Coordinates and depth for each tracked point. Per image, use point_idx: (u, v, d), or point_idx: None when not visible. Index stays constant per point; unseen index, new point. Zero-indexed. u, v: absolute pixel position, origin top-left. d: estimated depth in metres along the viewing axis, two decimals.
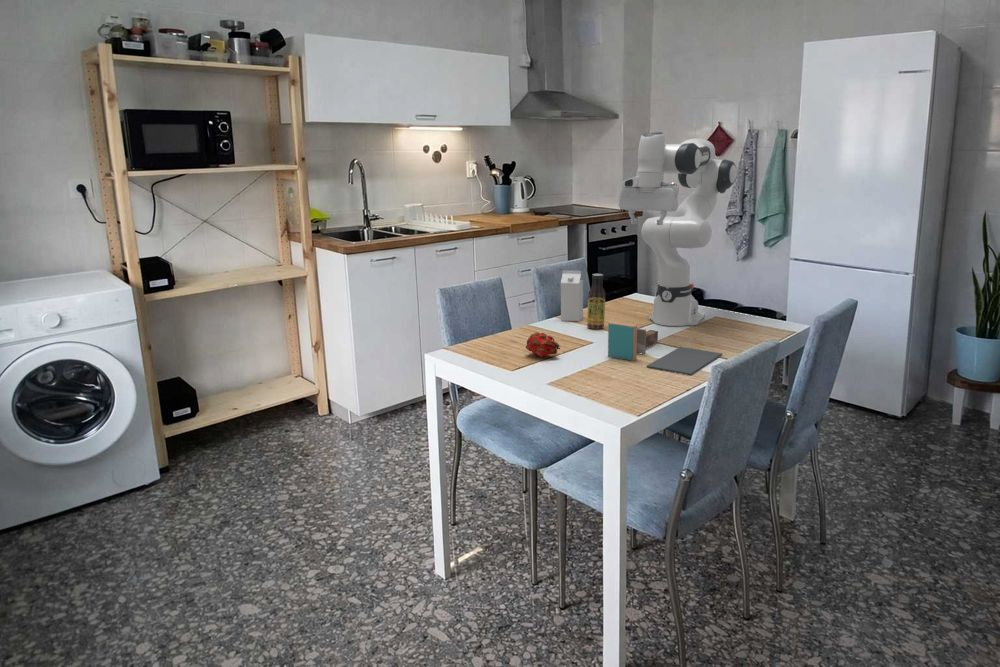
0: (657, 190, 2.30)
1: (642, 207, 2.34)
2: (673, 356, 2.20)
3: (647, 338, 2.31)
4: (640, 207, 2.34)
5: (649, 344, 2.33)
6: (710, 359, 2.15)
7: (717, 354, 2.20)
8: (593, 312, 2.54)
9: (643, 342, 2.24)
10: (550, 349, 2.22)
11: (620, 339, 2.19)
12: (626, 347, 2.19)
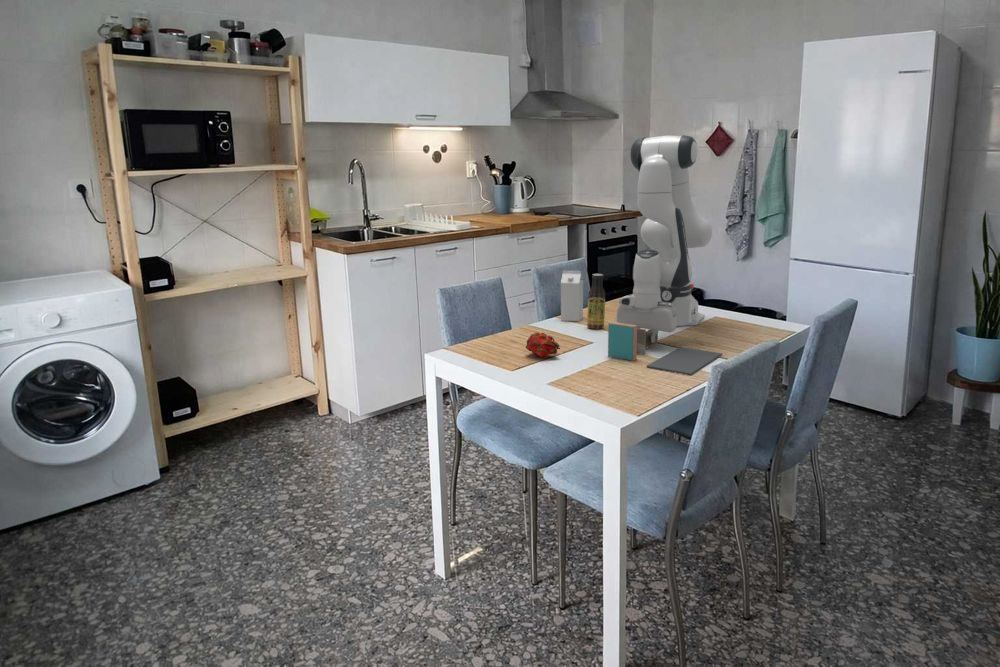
0: (654, 310, 2.27)
1: (640, 326, 2.31)
2: (673, 356, 2.20)
3: (647, 338, 2.31)
4: (638, 325, 2.32)
5: (649, 344, 2.33)
6: (710, 359, 2.15)
7: (717, 354, 2.20)
8: (593, 312, 2.54)
9: (643, 342, 2.24)
10: (550, 349, 2.22)
11: (620, 339, 2.19)
12: (626, 347, 2.19)
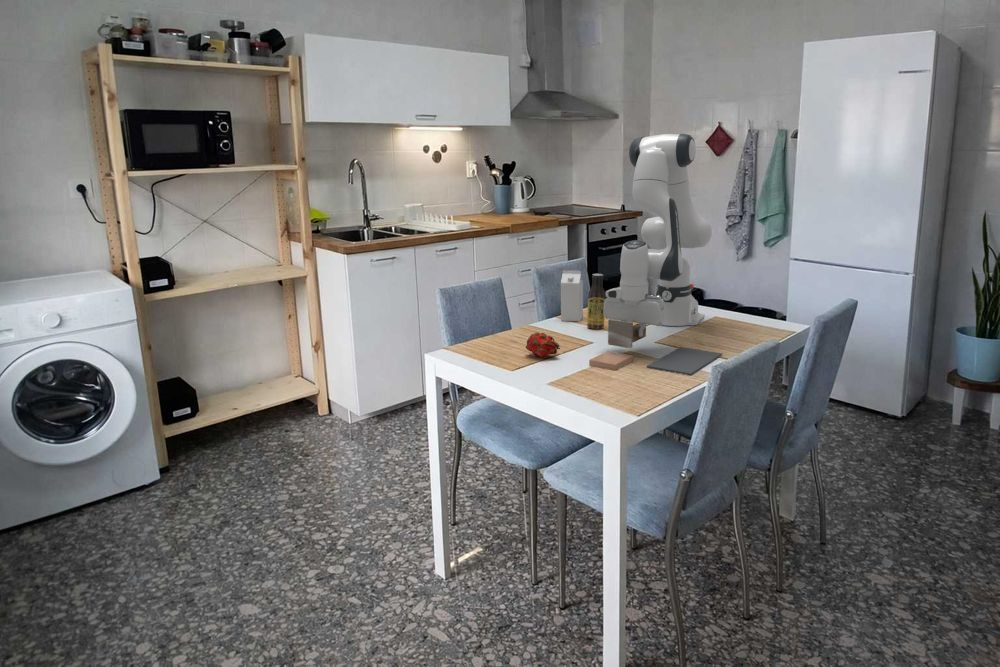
0: (642, 303, 2.19)
1: (627, 319, 2.24)
2: (673, 356, 2.20)
3: (634, 332, 2.23)
4: (625, 318, 2.24)
5: (637, 338, 2.25)
6: (710, 359, 2.15)
7: (717, 354, 2.20)
8: (593, 312, 2.54)
9: (630, 335, 2.16)
10: (550, 349, 2.22)
11: None
12: None
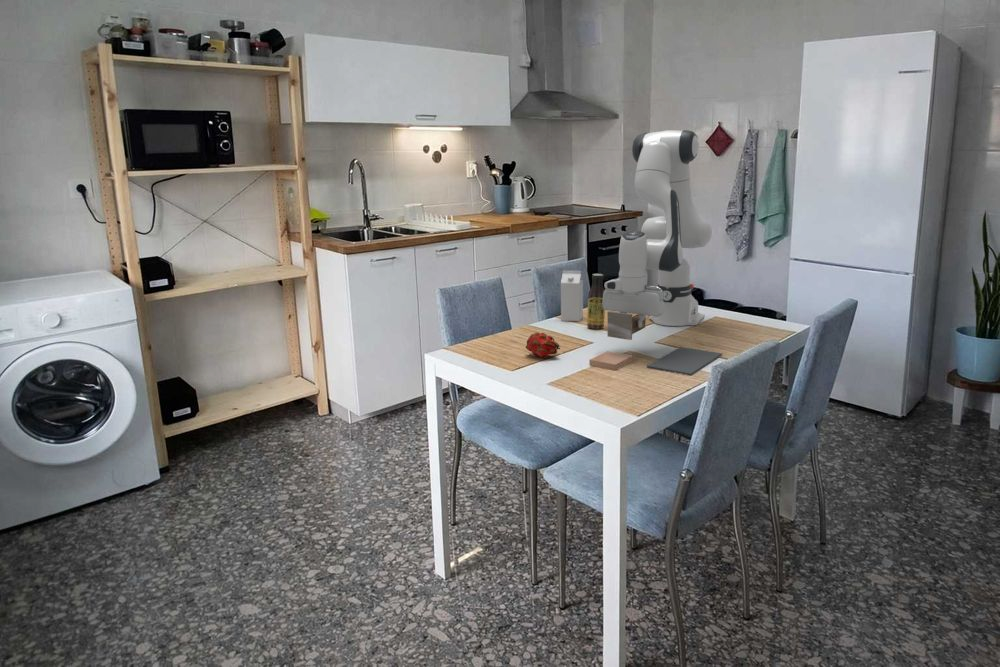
0: (641, 294, 2.18)
1: (627, 310, 2.22)
2: (673, 356, 2.20)
3: (634, 323, 2.22)
4: (625, 310, 2.23)
5: (636, 329, 2.24)
6: (710, 359, 2.15)
7: (717, 354, 2.20)
8: (593, 312, 2.54)
9: (629, 327, 2.15)
10: (550, 349, 2.22)
11: None
12: None
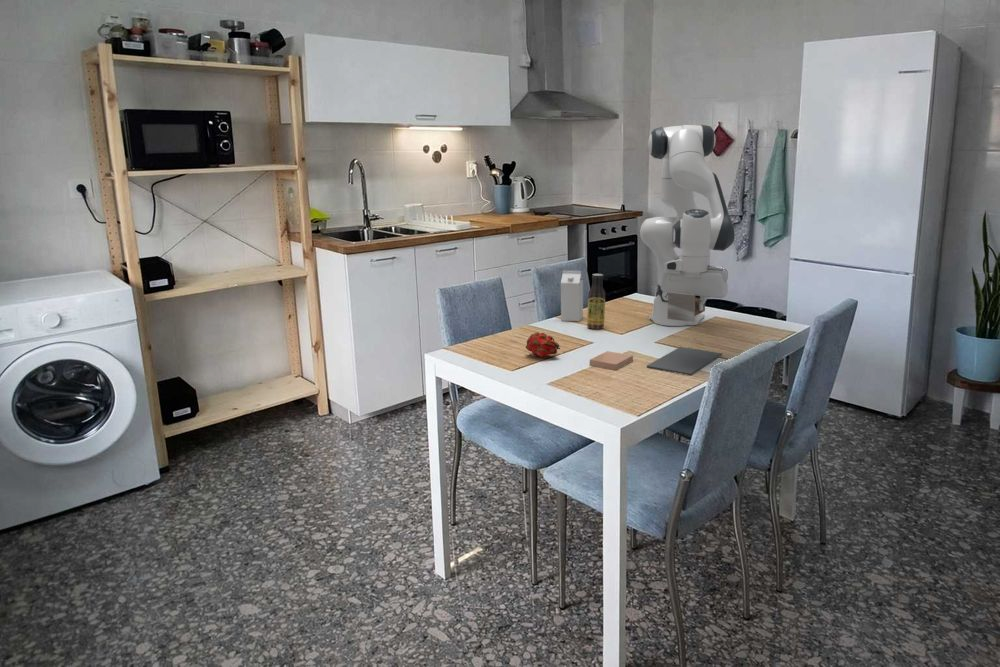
0: (704, 275, 2.09)
1: (687, 292, 2.13)
2: (673, 356, 2.20)
3: (695, 305, 2.13)
4: (685, 292, 2.14)
5: (696, 312, 2.15)
6: (710, 359, 2.15)
7: (717, 354, 2.20)
8: (593, 312, 2.54)
9: (692, 308, 2.06)
10: (550, 349, 2.22)
11: None
12: None
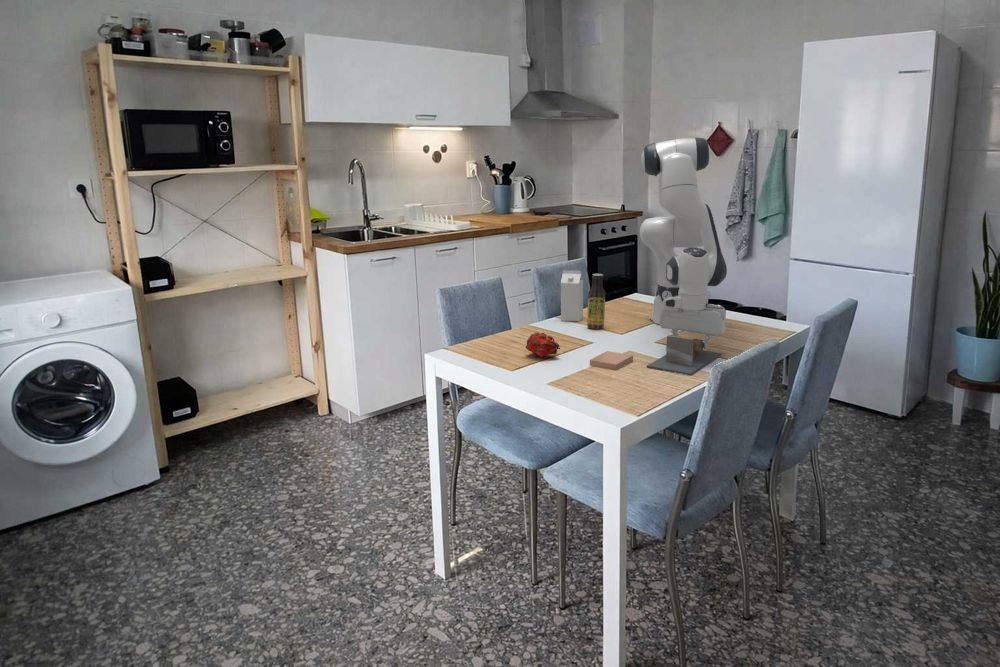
0: (702, 313, 2.12)
1: (686, 329, 2.16)
2: None
3: (693, 348, 2.16)
4: (683, 328, 2.17)
5: (695, 354, 2.18)
6: (710, 359, 2.15)
7: (717, 354, 2.20)
8: (593, 312, 2.54)
9: (690, 352, 2.09)
10: (550, 349, 2.22)
11: None
12: None
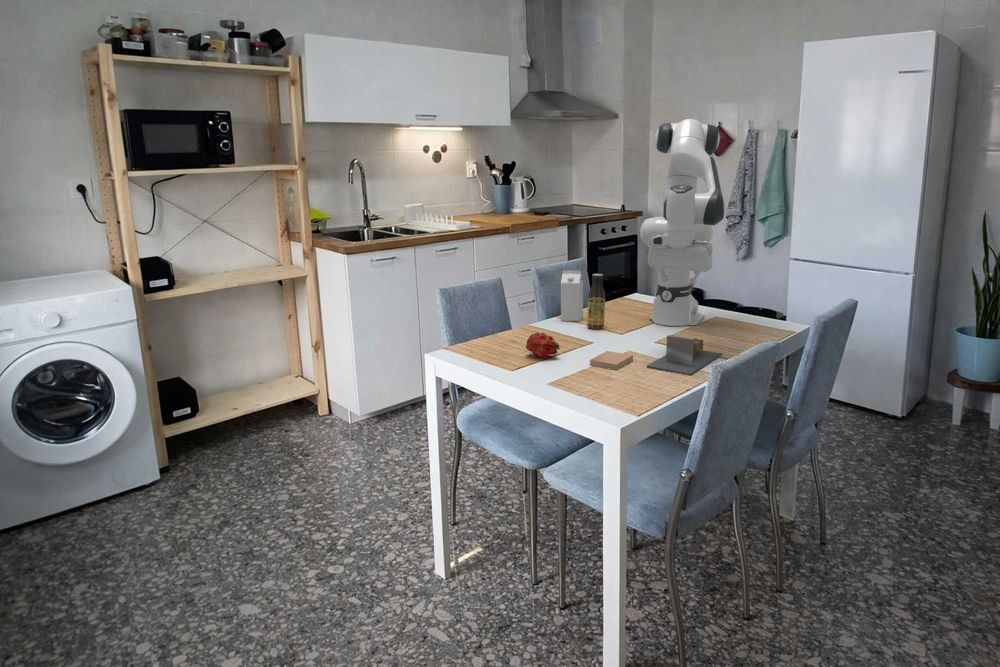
0: (689, 249, 2.15)
1: (673, 266, 2.19)
2: None
3: (693, 348, 2.16)
4: (671, 266, 2.20)
5: (695, 354, 2.18)
6: (710, 359, 2.15)
7: (717, 354, 2.20)
8: (593, 312, 2.54)
9: (690, 352, 2.09)
10: (550, 349, 2.22)
11: None
12: None
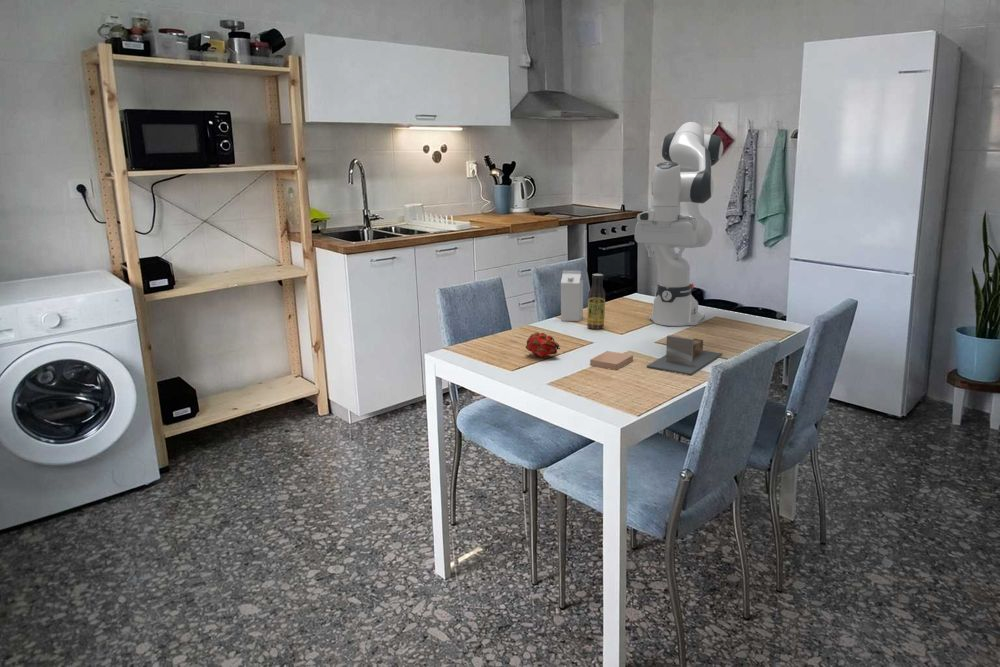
0: (674, 224, 2.20)
1: (659, 241, 2.25)
2: None
3: (693, 348, 2.16)
4: (657, 241, 2.25)
5: (695, 354, 2.18)
6: (710, 359, 2.15)
7: (717, 354, 2.20)
8: (593, 312, 2.54)
9: (690, 352, 2.09)
10: (550, 349, 2.22)
11: None
12: None
